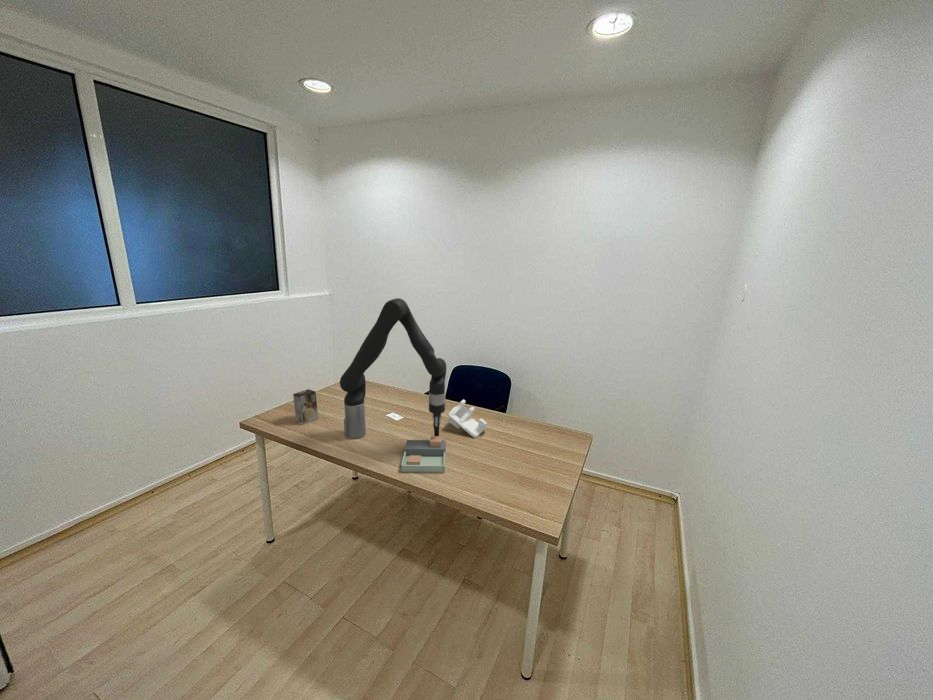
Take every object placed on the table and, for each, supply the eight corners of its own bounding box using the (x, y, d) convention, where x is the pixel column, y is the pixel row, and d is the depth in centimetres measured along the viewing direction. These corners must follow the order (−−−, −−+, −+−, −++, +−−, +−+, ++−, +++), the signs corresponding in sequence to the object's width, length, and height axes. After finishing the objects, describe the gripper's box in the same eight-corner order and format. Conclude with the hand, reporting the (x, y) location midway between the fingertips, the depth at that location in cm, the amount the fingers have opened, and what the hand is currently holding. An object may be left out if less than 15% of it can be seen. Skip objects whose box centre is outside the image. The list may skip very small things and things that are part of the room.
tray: (400, 472, 146) (400, 465, 145) (404, 457, 156) (404, 451, 156) (444, 472, 146) (444, 466, 146) (445, 457, 157) (445, 451, 156)
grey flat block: (404, 456, 157) (404, 448, 156) (407, 447, 165) (407, 439, 164) (445, 457, 158) (445, 449, 157) (445, 448, 165) (445, 440, 164)
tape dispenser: (480, 436, 187) (491, 419, 181) (470, 446, 177) (481, 428, 172) (451, 413, 193) (461, 395, 187) (440, 421, 183) (450, 402, 178)
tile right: (429, 446, 158) (429, 441, 158) (430, 441, 163) (430, 436, 162) (441, 447, 158) (441, 442, 158) (441, 441, 163) (441, 436, 163)
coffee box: (311, 416, 194) (308, 388, 190) (318, 419, 191) (316, 391, 187) (295, 422, 186) (292, 393, 182) (303, 425, 183) (300, 396, 179)
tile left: (409, 455, 152) (409, 460, 153) (407, 461, 148) (408, 467, 148) (420, 455, 153) (420, 460, 153) (419, 461, 148) (419, 467, 149)
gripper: (429, 396, 168) (429, 429, 173) (427, 407, 156) (427, 442, 160) (445, 396, 169) (444, 429, 173) (444, 407, 156) (444, 442, 160)
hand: (436, 435), depth 166 cm, fingers closed
